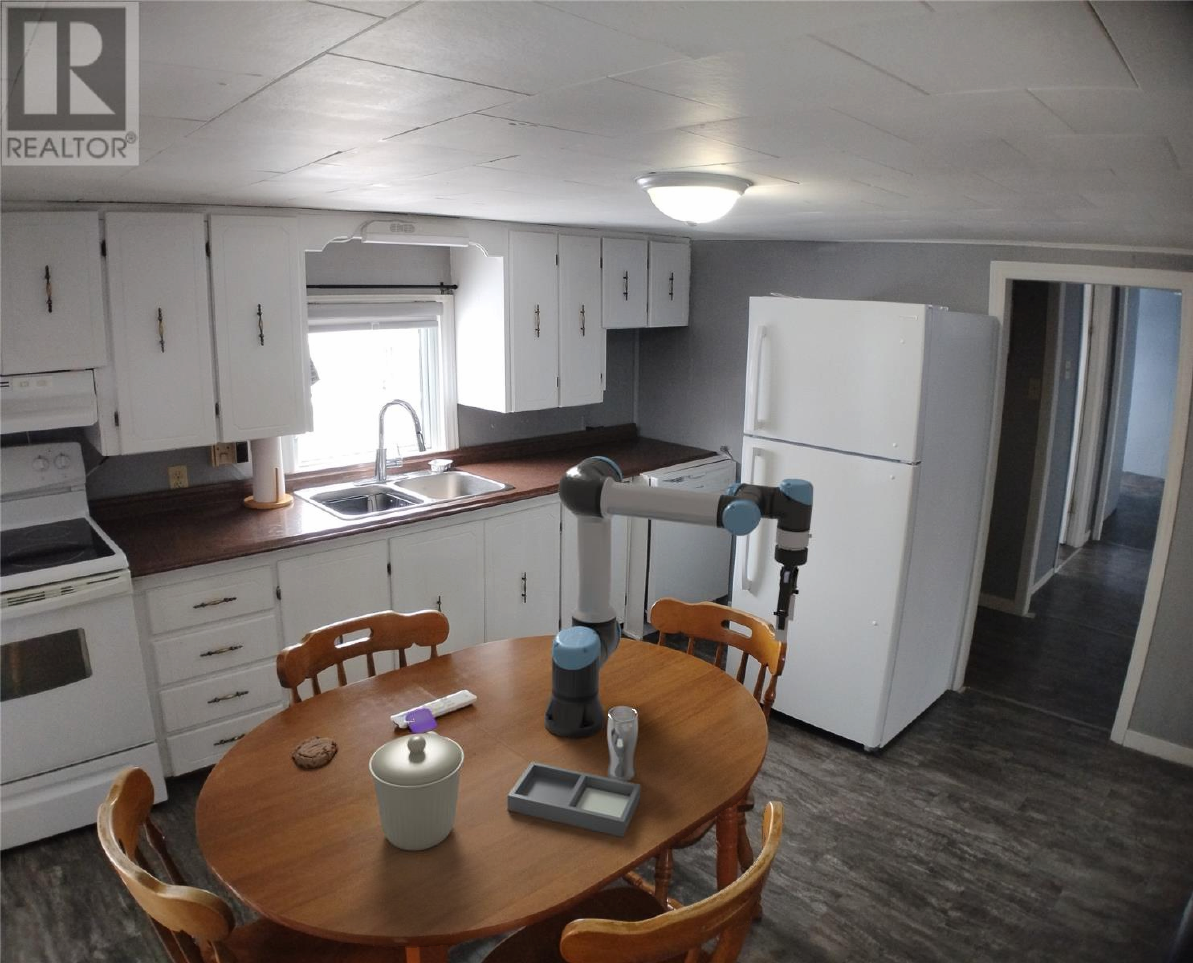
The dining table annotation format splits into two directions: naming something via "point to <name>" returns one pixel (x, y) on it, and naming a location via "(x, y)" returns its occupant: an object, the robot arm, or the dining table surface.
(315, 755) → the cookie
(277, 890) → the dining table surface
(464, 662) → the dining table surface
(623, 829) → the grey divided tray
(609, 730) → the beer glass
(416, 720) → the spatula
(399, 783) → the canister
